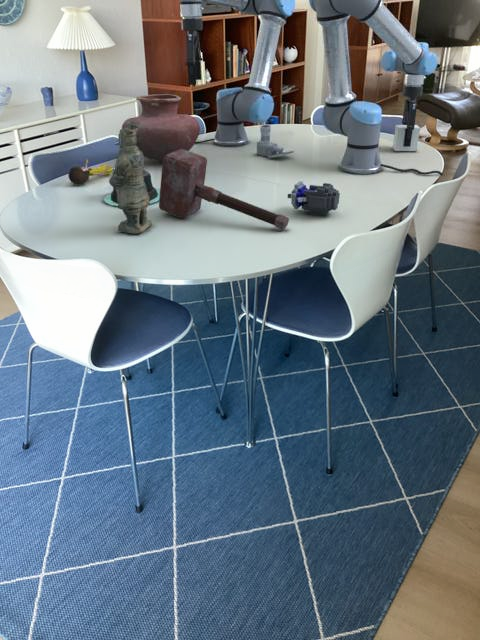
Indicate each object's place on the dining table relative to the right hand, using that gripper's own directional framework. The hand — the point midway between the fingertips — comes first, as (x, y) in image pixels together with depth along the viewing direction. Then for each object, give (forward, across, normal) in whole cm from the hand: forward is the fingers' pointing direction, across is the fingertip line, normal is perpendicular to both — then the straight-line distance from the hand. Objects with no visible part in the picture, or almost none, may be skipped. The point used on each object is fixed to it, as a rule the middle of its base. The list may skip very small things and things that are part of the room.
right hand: (405, 144), depth 234 cm
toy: (+4, -79, +42) cm, 89 cm away
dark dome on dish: (+4, -65, +101) cm, 120 cm away
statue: (+4, -94, +94) cm, 133 cm away
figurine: (+4, -42, +120) cm, 127 cm away
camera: (+3, -10, +56) cm, 57 cm away
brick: (+2, 0, 0) cm, 2 cm away
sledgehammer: (+4, -86, +68) cm, 110 cm away
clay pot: (+4, -17, +100) cm, 102 cm away
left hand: (-27, -20, +85) cm, 91 cm away
